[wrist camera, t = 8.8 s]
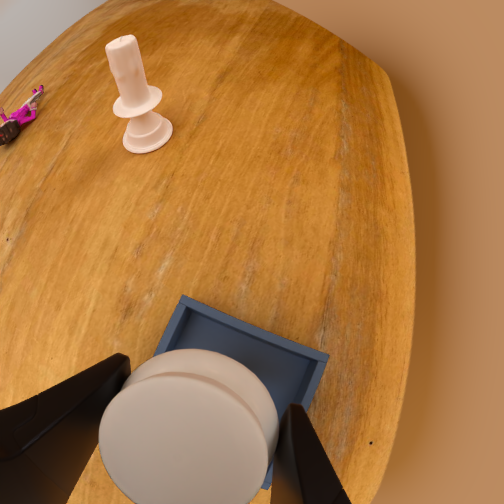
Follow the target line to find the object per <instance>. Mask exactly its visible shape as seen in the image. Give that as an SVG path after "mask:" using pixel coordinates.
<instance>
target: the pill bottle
mask: <svg viewBox="0 0 504 504" xmlns="http://www.w3.org/2000/svg"><path fill="white" fill-rule="evenodd" d="M278 439H279V420H278V415H277V410H276V408H275V405H274V402H273V400H272V398H271V396H270V394H269V392H268V390H267V388H266V387H265V386H264V384H263V383H262V382H261V381H260V380H259V379H258V377H257V376H256V375H255V374H254V373H253V372H252V371H250V370H249V369H248V368H247V367H245V366H244V365H243V364H241V363H239V362H237V361H236V360H234V359H232V358H230V357H227V356H225V355H222V354H220V353H218V352H213V351H208V350H201V349H179V350H173V351H169V352H165V353H162V354H160V355H157V356H155V357H153V358H151V359H149V360H147V361H146V362H144V363H143V364H141V365H140V366H139V367H138V368H137V369H136V370H135V371H133V372H132V374H131V375H130V376H129V377H128V379H127V380H126V381H125V383H124V385H123V386H122V388H121V391H120V393H118V394H117V395H116V396H115V397H114V398H113V399H112V401H111V402H110V403H109V405H108V406H107V408H106V410H105V411H104V414H103V416H102V419H101V423H100V427H99V449H100V454H101V458H102V461H103V464H104V466H105V468H106V470H107V472H108V474H109V476H110V477H111V479H112V480H113V482H114V483H115V484H116V486H117V487H118V488H119V489H120V490H121V491H122V492H123V493H124V494H125V495H126V496H127V497H128V498H129V499H130V500H132V501H133V502H134V503H136V504H248V503H249V502H250V501H251V500H252V499H253V498H254V497H255V495H256V494H257V493H258V492H259V490H260V488H261V486H262V484H263V482H264V479H265V476H266V472H267V467H268V466H269V464H270V462H271V461H272V458H273V456H274V454H275V451H276V448H277V444H278Z"/></svg>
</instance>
